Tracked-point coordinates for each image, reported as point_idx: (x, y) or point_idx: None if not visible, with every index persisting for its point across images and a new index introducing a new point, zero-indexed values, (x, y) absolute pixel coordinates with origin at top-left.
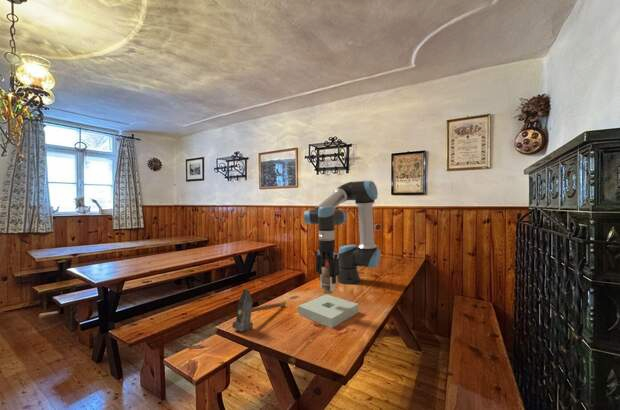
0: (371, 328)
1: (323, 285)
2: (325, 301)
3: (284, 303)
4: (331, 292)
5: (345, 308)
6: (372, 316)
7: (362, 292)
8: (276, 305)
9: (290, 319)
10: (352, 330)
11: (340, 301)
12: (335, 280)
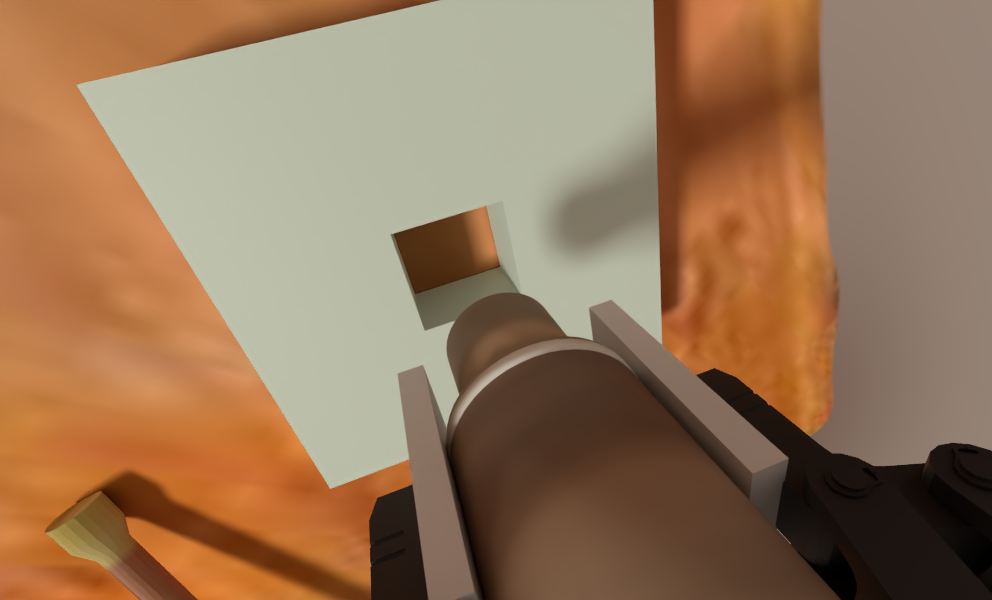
0: (805, 117)
1: (442, 423)
2: (362, 247)
3: (102, 519)
4: (550, 315)
5: (627, 174)
6: None
7: None
8: (172, 587)
9: (380, 489)
10: (727, 241)
11: (460, 91)
12: (762, 413)
